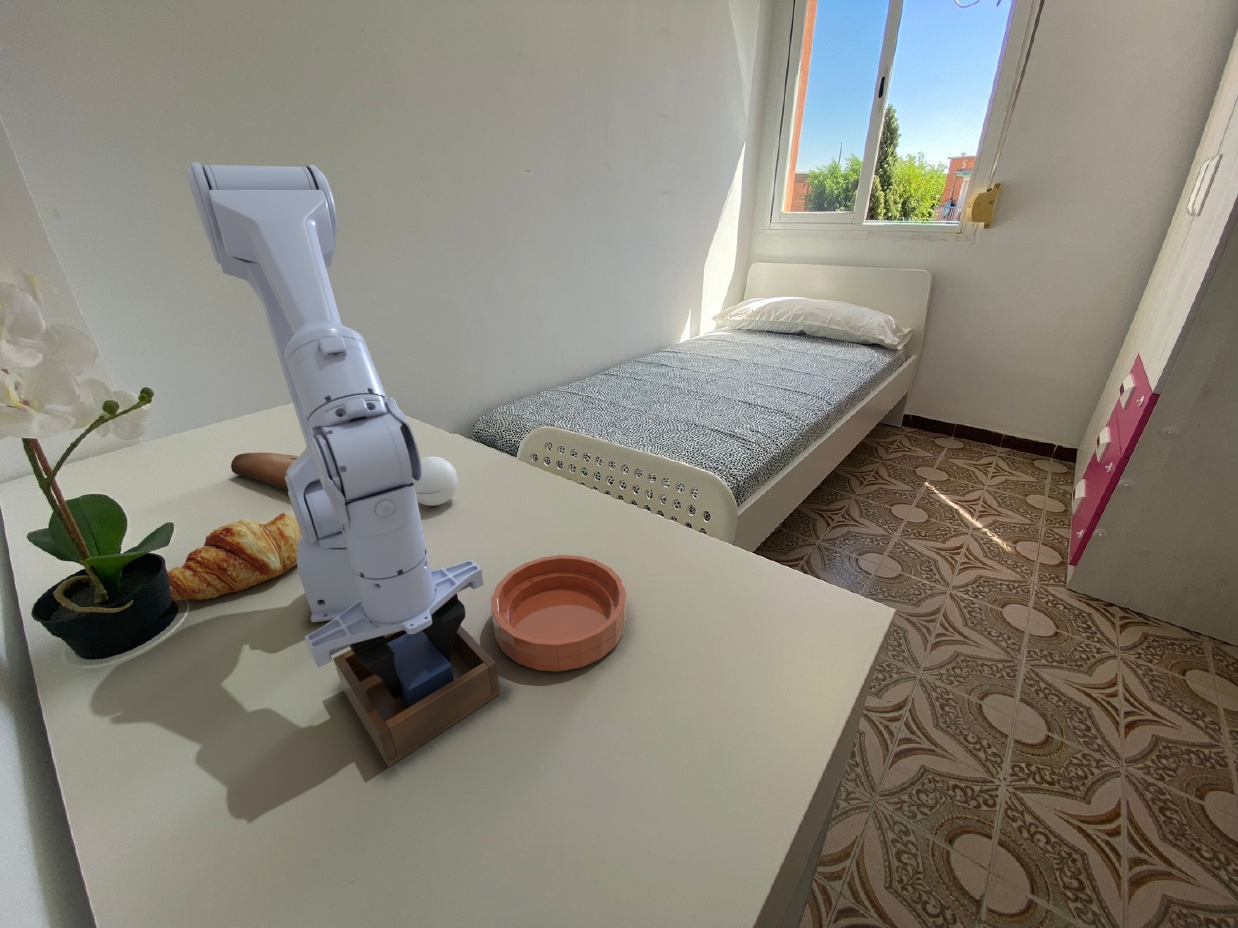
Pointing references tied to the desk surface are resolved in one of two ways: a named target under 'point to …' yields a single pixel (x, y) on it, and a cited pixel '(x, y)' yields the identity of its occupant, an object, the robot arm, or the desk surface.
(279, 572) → the croissant
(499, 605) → the bowl
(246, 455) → the sunglasses case
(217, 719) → the desk surface
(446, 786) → the desk surface
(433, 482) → the white sphere
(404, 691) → the dark blue block
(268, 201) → the robot arm
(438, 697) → the box
